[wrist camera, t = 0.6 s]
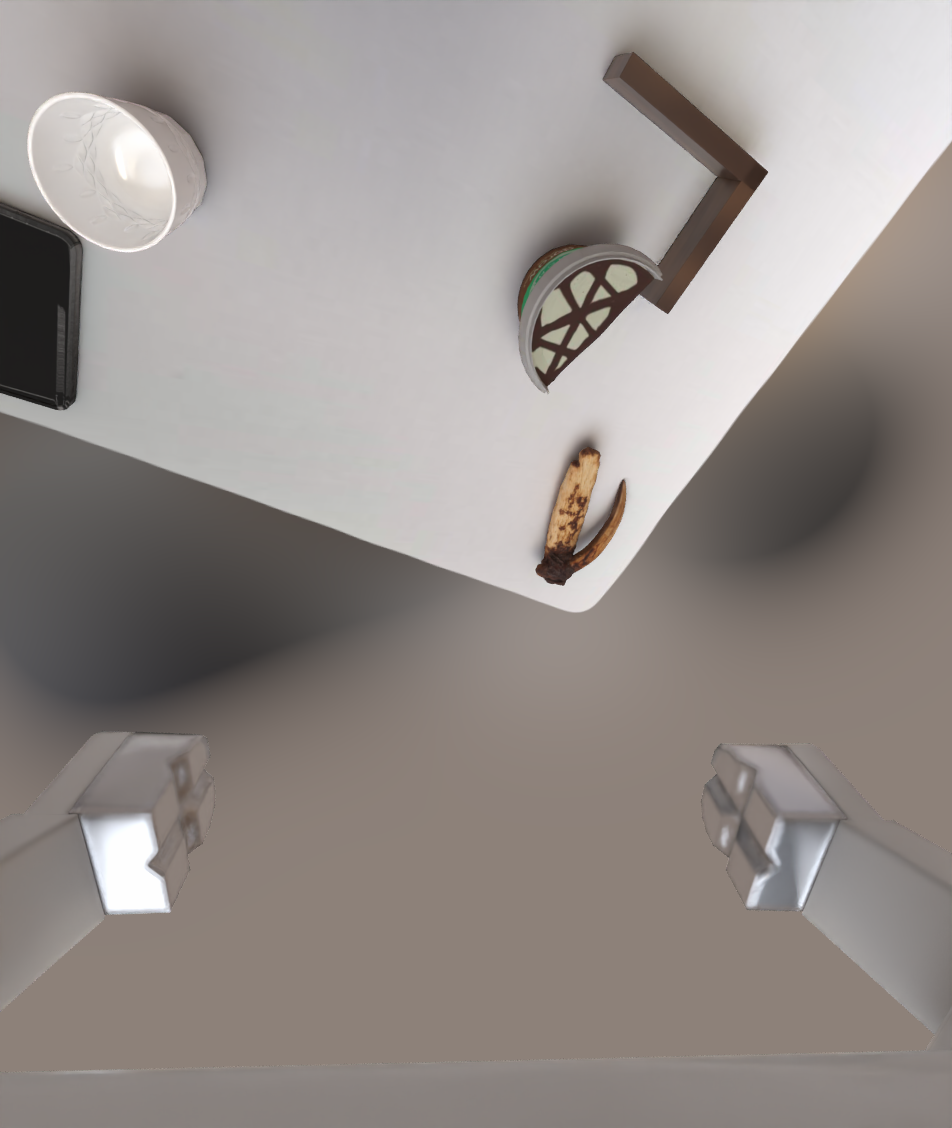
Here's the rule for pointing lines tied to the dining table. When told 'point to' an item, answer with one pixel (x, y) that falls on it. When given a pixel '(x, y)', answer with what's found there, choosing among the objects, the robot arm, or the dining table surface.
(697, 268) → the corner guide
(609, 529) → the lashed bone hook
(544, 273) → the food container
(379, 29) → the dining table surface
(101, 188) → the white cup
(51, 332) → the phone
